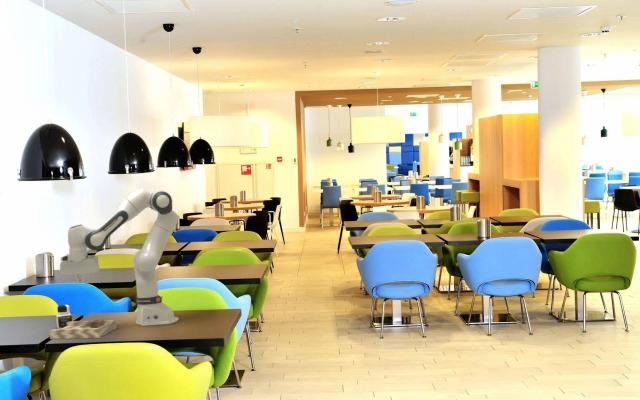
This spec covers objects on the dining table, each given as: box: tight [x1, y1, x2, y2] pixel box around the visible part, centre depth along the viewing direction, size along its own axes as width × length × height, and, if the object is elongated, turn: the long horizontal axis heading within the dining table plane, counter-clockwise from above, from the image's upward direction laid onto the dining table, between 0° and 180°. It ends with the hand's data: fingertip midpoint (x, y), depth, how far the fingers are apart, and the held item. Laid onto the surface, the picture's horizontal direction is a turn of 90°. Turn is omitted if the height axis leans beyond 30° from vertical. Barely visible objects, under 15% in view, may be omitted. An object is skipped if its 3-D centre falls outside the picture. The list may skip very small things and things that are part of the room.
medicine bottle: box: [55, 304, 73, 329], centre depth 390 cm, size 7×7×12 cm
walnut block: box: [90, 319, 105, 328], centre depth 369 cm, size 5×5×4 cm
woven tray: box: [48, 319, 117, 340], centre depth 371 cm, size 26×20×4 cm
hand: (81, 282), depth 379 cm, fingers closed
